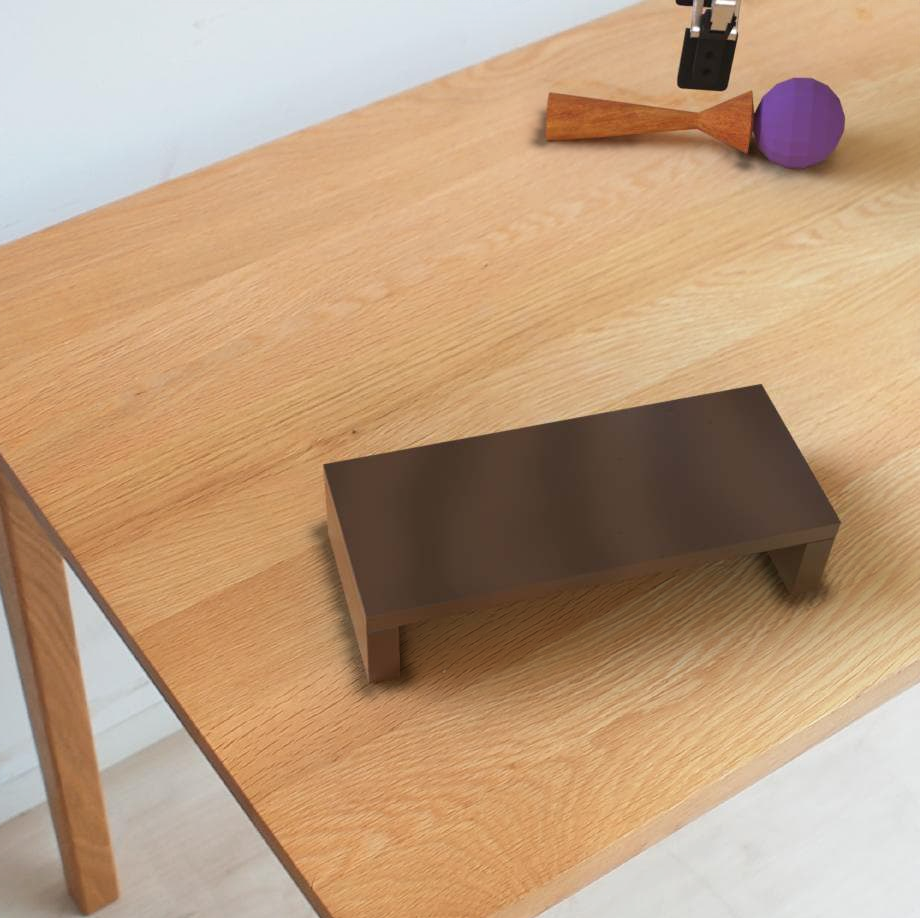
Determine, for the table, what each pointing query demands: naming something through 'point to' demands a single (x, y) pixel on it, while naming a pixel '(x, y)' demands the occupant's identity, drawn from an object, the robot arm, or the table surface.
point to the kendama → (719, 121)
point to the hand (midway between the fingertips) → (699, 44)
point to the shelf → (570, 511)
